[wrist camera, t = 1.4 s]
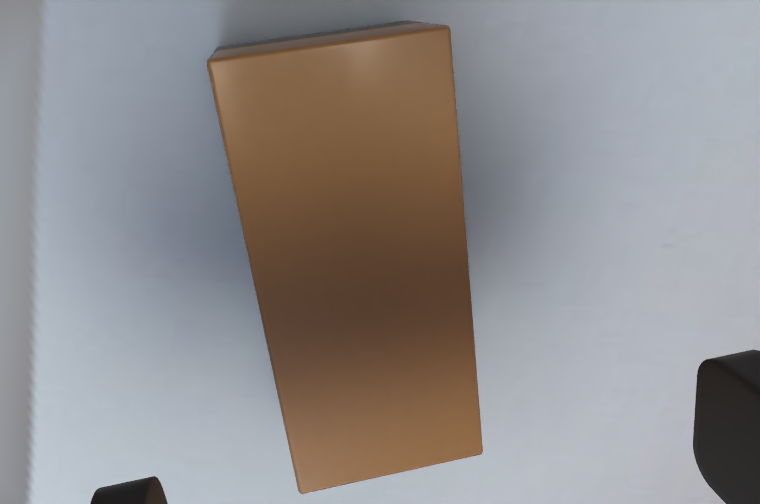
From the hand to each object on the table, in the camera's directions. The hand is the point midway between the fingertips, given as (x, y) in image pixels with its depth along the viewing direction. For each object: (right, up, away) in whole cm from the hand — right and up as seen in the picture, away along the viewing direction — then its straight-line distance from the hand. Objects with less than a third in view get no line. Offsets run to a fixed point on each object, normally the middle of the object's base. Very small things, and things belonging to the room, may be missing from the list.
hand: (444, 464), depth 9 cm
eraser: (-2, +4, +9) cm, 10 cm away
